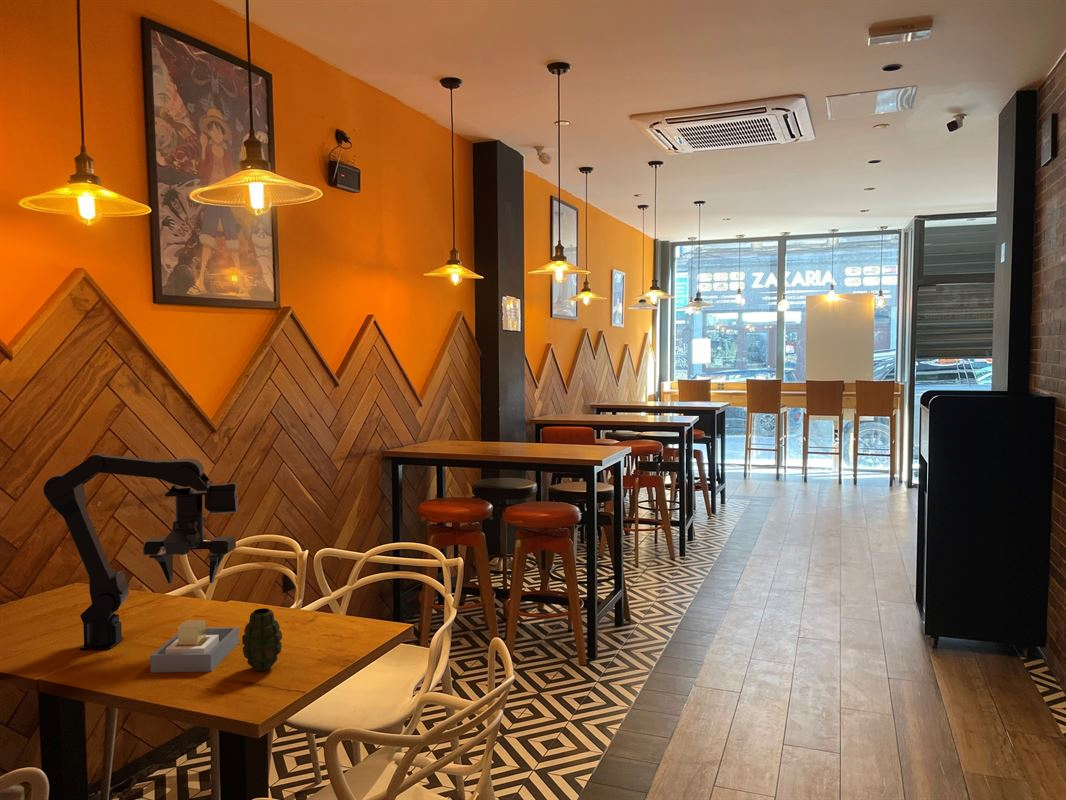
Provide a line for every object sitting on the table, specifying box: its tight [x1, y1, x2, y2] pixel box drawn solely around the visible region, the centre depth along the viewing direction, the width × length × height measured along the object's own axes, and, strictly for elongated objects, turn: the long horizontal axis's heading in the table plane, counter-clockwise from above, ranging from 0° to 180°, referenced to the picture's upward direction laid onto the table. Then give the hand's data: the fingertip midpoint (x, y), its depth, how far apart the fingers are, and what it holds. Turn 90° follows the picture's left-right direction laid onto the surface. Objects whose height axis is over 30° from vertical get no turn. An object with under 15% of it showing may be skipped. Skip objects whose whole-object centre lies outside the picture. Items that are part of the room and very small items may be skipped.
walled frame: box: [149, 626, 240, 674], centre depth 159 cm, size 12×16×4 cm
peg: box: [177, 619, 207, 647], centre depth 157 cm, size 4×4×8 cm
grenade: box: [241, 607, 283, 672], centre depth 153 cm, size 8×8×12 cm
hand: (190, 582), depth 171 cm, fingers open, 9 cm apart
